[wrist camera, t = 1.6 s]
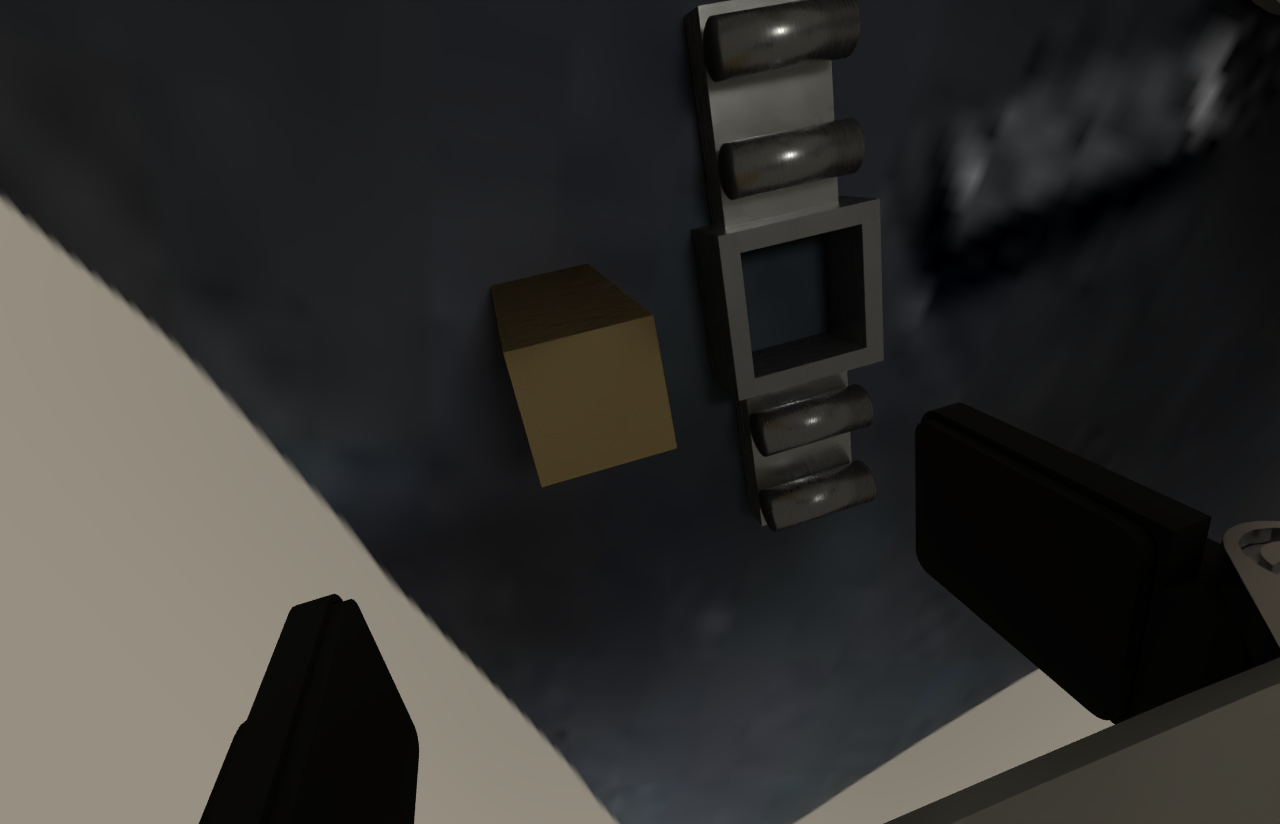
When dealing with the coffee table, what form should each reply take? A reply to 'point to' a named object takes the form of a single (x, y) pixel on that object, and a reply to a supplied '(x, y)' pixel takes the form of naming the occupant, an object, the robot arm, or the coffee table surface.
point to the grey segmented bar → (780, 212)
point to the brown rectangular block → (583, 372)
